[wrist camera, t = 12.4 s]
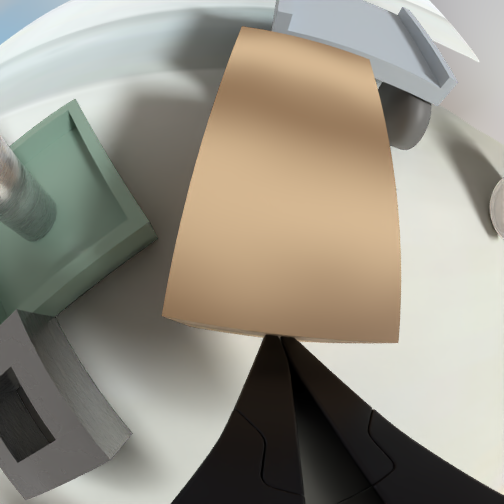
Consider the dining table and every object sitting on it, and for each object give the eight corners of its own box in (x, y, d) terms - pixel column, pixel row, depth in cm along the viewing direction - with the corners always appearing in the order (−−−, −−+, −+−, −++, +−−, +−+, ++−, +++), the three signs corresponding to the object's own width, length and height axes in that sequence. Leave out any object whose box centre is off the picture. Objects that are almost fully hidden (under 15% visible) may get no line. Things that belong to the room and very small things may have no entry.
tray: (17, 349, 12) (-7, 348, 10) (-26, 211, 14) (-43, 198, 12) (157, 238, 16) (149, 221, 13) (85, 120, 17) (75, 98, 15)
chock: (300, 341, 15) (398, 342, 7) (190, 326, 15) (161, 315, 6) (313, 158, 19) (369, 59, 10) (227, 140, 18) (241, 26, 10)
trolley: (400, 164, 20) (465, 97, 12) (251, 127, 19) (276, 21, 10) (373, 61, 24) (405, 5, 16) (267, 31, 23) (284, -36, 15)
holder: (53, 477, 10) (25, 500, 6) (-11, 375, 11) (-48, 377, 7) (132, 433, 12) (110, 459, 9) (54, 316, 13) (16, 309, 10)
